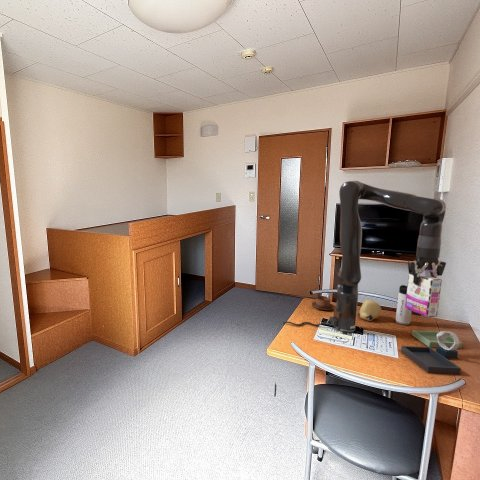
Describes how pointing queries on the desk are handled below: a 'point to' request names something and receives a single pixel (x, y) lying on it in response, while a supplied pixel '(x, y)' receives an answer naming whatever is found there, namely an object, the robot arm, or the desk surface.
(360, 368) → the desk surface
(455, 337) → the watch
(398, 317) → the travel mug
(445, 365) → the charcoal tray
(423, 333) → the sage tray
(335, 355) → the desk surface
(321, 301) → the cup and saucer
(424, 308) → the candy bar box
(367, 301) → the yellow quince
